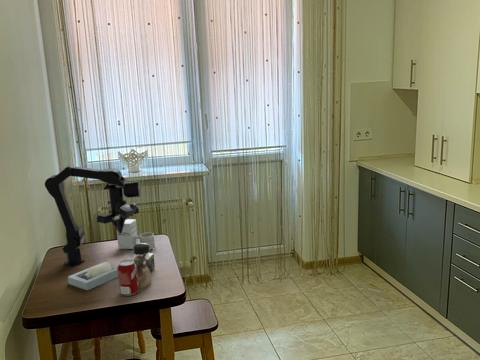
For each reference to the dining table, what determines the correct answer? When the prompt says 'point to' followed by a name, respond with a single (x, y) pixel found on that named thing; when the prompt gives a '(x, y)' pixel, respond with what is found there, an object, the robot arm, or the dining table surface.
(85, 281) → the u rest
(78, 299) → the dining table surface
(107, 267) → the white bottle
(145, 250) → the medicine bottle
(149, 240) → the mug
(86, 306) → the dining table surface
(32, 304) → the dining table surface
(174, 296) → the dining table surface
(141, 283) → the figurine
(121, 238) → the supplement box
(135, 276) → the soda can
